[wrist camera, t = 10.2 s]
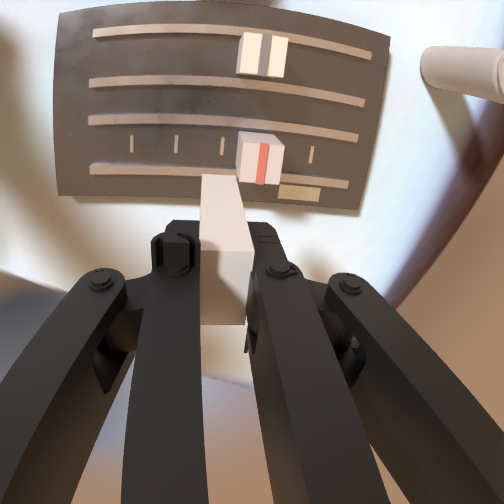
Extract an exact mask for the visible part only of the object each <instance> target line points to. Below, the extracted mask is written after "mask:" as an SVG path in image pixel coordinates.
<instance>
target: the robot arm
mask: <svg viewBox="0 0 504 504" xmlns="http://www.w3.org/2000/svg"><path fill="white" fill-rule="evenodd" d="M151 256H152V272H151V273H149V274H148V275H146V276H143V277H140V278H136V279H131V280H125V279H124V275H122V274H121V273H120V272H119V271H117V270H114V269H109V268H100V269H95V270H93V271H90V272H88V273H86V274H85V275H84V276H82V277H81V278H80V279H79V281H78V282H77V283H76V284H75V285H74V286H73V288H72V289H71V290H70V291H69V292H68V294H67V295H66V296H65V297H64V299H63V300H62V301H61V302H60V304H59V305H58V306H57V307H56V308H55V310H54V311H53V312H52V313H51V315H50V316H49V317H48V318H47V320H46V321H45V322H44V324H43V325H42V326H41V328H40V329H39V330H38V331H37V333H36V334H35V335H34V337H33V338H32V339H31V341H30V342H29V343H28V345H27V346H26V347H25V349H24V350H23V352H22V353H21V354H20V356H19V357H18V359H17V360H16V361H15V363H14V364H13V366H12V367H11V369H10V370H9V371H8V373H7V374H6V376H5V377H4V379H3V380H2V382H1V383H0V504H71V501H72V499H73V496H74V493H75V491H76V488H77V486H78V483H79V480H80V478H81V476H82V473H83V471H84V468H85V466H86V463H87V461H88V459H89V456H90V454H91V451H92V449H93V447H94V444H95V442H96V440H97V437H98V435H99V433H100V430H101V428H102V426H103V423H104V421H105V419H106V417H107V414H108V412H109V410H110V408H111V406H112V403H113V401H114V399H115V397H116V395H117V392H118V390H119V388H120V386H121V384H122V381H123V380H124V378H125V375H126V373H127V371H128V369H129V367H130V365H131V363H132V361H133V359H134V356H135V354H136V356H135V362H134V369H133V376H132V383H131V390H130V398H129V406H128V414H127V424H126V433H125V444H124V456H123V470H122V487H121V504H209V500H208V488H207V476H206V463H205V447H204V430H203V411H202V410H203V409H202V384H201V347H200V325H245V319H246V315H247V321H248V328H247V334H246V341H245V348H244V353H247V352H248V351H249V358H250V364H251V370H252V377H253V383H254V389H255V395H256V402H257V408H258V414H259V420H260V426H261V432H262V437H263V444H264V450H265V455H266V461H267V467H268V473H269V479H270V484H271V490H272V495H273V501H274V504H391V503H390V501H389V499H388V496H387V493H386V489H385V487H384V484H383V481H382V478H381V475H380V472H379V469H378V466H377V464H376V461H375V458H374V455H373V452H372V449H371V447H370V444H371V446H372V447H373V449H374V450H375V452H376V453H377V455H378V456H379V458H380V459H381V461H382V462H383V464H384V465H385V467H386V468H387V469H388V471H389V472H390V474H391V476H392V477H393V479H394V480H395V482H396V483H397V485H398V486H399V487H400V489H401V491H402V492H403V494H404V495H405V497H406V498H407V500H408V501H409V503H410V504H504V432H503V431H502V430H501V429H500V427H499V426H498V425H497V424H496V423H495V421H494V420H493V419H492V418H491V417H490V415H489V414H488V413H487V412H486V410H485V409H484V408H483V407H482V405H481V404H480V403H479V402H478V401H477V400H476V398H475V397H474V396H473V395H472V394H471V393H470V391H469V390H468V389H467V388H466V387H465V386H464V384H463V383H462V382H461V381H460V380H459V379H458V378H457V376H456V375H455V374H454V373H453V372H452V371H451V370H450V369H449V368H448V366H447V365H446V364H445V363H444V362H443V361H442V360H441V359H440V357H439V356H438V355H437V354H436V353H435V352H434V351H433V350H432V349H431V347H430V346H429V345H428V344H427V343H426V342H425V341H424V340H423V339H422V338H421V337H420V336H419V335H418V333H417V332H416V331H415V330H414V329H413V328H412V327H411V326H410V325H409V324H408V323H407V322H406V321H405V320H404V319H403V318H402V317H401V316H400V315H399V313H397V311H396V310H395V309H394V308H393V307H392V306H391V305H390V304H389V303H388V302H387V301H386V300H385V299H384V298H383V297H382V296H381V295H380V294H379V293H378V292H377V291H376V290H375V289H374V288H373V287H372V286H371V285H370V284H369V283H368V282H367V281H366V280H364V279H363V278H361V277H359V276H357V275H355V274H350V273H337V274H334V275H332V276H331V278H330V279H329V282H328V284H324V283H319V282H315V281H311V280H307V279H305V278H304V277H303V274H302V272H301V270H300V269H299V268H298V266H296V265H295V264H293V263H291V262H289V261H288V260H287V257H286V255H285V252H284V250H283V247H282V245H281V244H280V240H279V238H278V235H277V232H276V230H275V229H274V228H273V227H272V226H271V225H270V224H268V223H267V222H247V219H246V215H245V211H244V207H243V204H242V200H241V196H240V192H239V188H238V184H237V180H236V176H234V175H214V174H202V186H201V205H200V221H193V220H173V221H171V222H170V223H169V224H168V225H167V226H166V229H165V232H163V233H160V234H158V235H157V236H155V237H154V238H153V239H152V241H151ZM354 336H355V338H356V339H357V340H358V341H359V343H360V346H357V345H356V344H355V343H354V342H353V339H354ZM369 443H370V444H369Z"/></svg>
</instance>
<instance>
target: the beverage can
mask: <svg viewBox="0 0 504 504" xmlns="http://www.w3.org/2000/svg"><path fill="white" fill-rule="evenodd" d="M420 68H421V73H422V75H423V77H424V79H425V80H426V82H427V83H428V84H429V85H431V86H432V87H434V88H437V89H443V90H448V91H453V92H458V93H462V94H467V95H471V96H475V97H479V98H483V99H487V100H491V101H495V102H498V103H502V104H504V50H502V49H491V48H478V47H456V46H432V47H429V48H427V49H425V51H424V52H423V54H422V56H421V61H420Z"/></svg>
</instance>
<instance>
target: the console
mask: <svg viewBox="0 0 504 504" xmlns="http://www.w3.org/2000/svg"><path fill="white" fill-rule="evenodd" d="M244 32H248V33H257V34H262V33H265V34H271V35H272V36H279V37H286V38H288V45H287V53H286V61H285V68H284V76H283V78H271V77H263V76H254V75H244V74H236V66H237V57H238V49H239V41H240V39H241V37H242V35H243V34H244ZM390 38H391V37H390V36H387V35H384V34H381V33H378V32H375V31H372V30H369V29H365V28H362V27H359V26H355V25H352V24H348V23H344V22H341V21H337V20H333V19H329V18H324V17H320V16H315V15H311V14H306V13H301V12H296V11H290V10H284V9H278V8H271V7H264V6H256V5H247V4H237V3H225V2H207V1H156V2H139V3H126V4H116V5H108V6H100V7H93V8H87V9H81V10H75V11H70V12H65V13H60V14H59V20H58V28H57V37H56V47H55V60H54V79H53V132H54V152H55V166H56V177H57V187H58V196H76V195H89V196H153V197H182V198H201V186H202V174H214V175H234V176H236V180H237V184H238V188H239V192H240V196H241V200H242V201H257V202H272V203H285V204H298V205H310V206H321V207H332V208H343V209H352V210H358V208H359V204H360V200H361V196H362V192H363V188H364V183H365V179H366V175H367V170H368V166H369V161H370V157H371V152H372V147H373V143H374V138H375V133H376V127H377V122H378V117H379V111H380V106H381V100H382V94H383V88H384V82H385V75H386V69H387V62H388V54H389V47H390ZM239 131H246V132H257V133H267V134H274V135H275V136H276V137H277V138H278V139H279V141H280V142H281V143H282V144H283V145H284V146H285V148H284V155H283V162H282V169H281V176H280V182H279V185H276V184H264V185H260V184H255V183H250V182H239V179H238V174H237V170H236V165H235V162H236V152H237V142H238V133H239Z"/></svg>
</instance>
